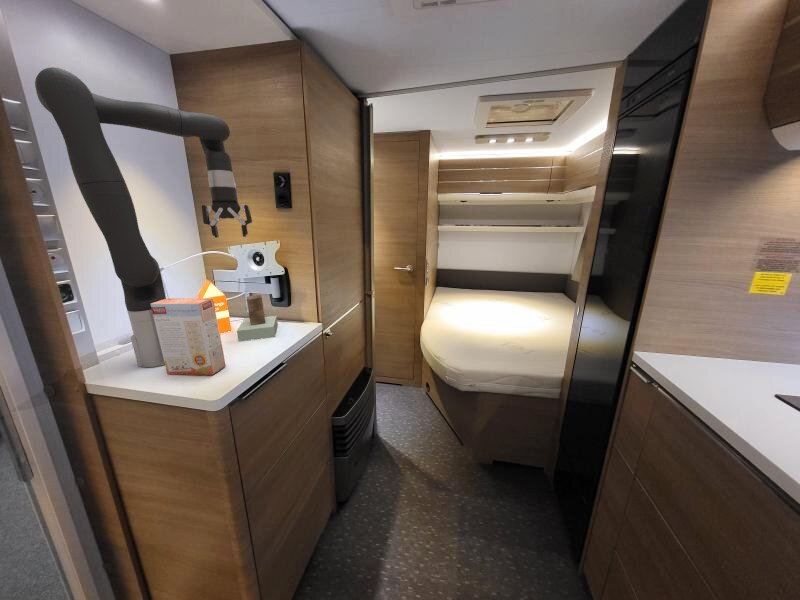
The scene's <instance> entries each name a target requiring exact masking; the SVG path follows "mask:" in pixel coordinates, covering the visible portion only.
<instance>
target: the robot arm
mask: <svg viewBox="0 0 800 600" xmlns="http://www.w3.org/2000/svg"><path fill="white" fill-rule="evenodd" d="M34 85H35V86H34V87H35V91H36V95H37V98H38V101H39V103H40V104H41V105H42V107H43V108H44V109H46V111H47V112H49V113H50V114H51V115H52V117H53V119H54V121H55V123H56V124H57V126H58V129H59V130H60V132H61V135H62V138H63V141H64V142H65V147H66V152H67V154H68V155H67V156H68V160H69V164H70V166H71V170H72V173H73V177H74V178H75V182H76V184H77V186H78V189H79V191H80V194H81V196H82V198H83V200H84V202H85V205H86V206H87V208H88V211H89V212H90V214H91V215H92V218H93V219H94V221H95V223H96V225H97V226H98V229H99V230H100V232H101V233H102V236H103V237H104V239H105V241H106V245H107V247H108V251H109V253H110V257H111V260H112V264H113V268H114V272H115V275H116V276H117V278H118V279H119V280H120V282H121V286H122V290H123V291H122V292H123V296H124V305H125V307H126V311H127V315H128V319H129V323H130V325H131V330H132V332H133V333H132V335H131V336H130V340H131V343H132V348H133V351H134V355H135V359H136V362H137V363H136V364H137V367H139V368H141V367H143V368H155V367H161V366H163V365H164V366H165V363H164V358H163V354H162V350H161V346H160V342H159V338H158V334H157V329H156V325H155V321H154V317H153V313H152V309H151V303H154V302H157V301H160V300H163V299H167V297H166V291H165V287H164V282H163V279H162V274H161V269H160V266H159V263H158V261H157V259H155V258H154V257H153V256H152V254H151V253H150V251H149V249H148V247H147V245H146V243H145V241H144V239H143V237H142V234H141V231H140V227H139V222H138V218H137V213H136V209H135V205H134V202H133V198H132V195H131V193H130V191H129V188H128V185H127V183H126V180H125V178H124V176H123V174H122V171H121V169H120V166H119V165H118V163H117V161H116V158H115V156H114V154H113V152H112V150H111V148H110V147H109V145H108V143H107V140H106V138H105V135H104V132H103V129H102V125H101V124H106V125H114V126H115V125H116V126H121V127H123V126H124V127H130V128H136V129H141V130H147V131H152V132H157V133H161V134H166V135H172V136H176V137H181V138H191V137H192V138H193V137H196V138H199V142H200V145H201V148H202V151H203V153H204V155H205V161H206V163H205V164H206V168H207V179H208V180H207V181H208V184H209V192H210V197H211V203H212V204H211V205H206V204H202V205H201V212H202V221H203V224H204V225H208V226H210V230H211V235H212V236H213V237H214V238H219V237H220V235H219V229H218V226H217V224H218V222H219V221H220V220H221V219H223V220H224V219H225V220H226V219H236V220H237V221H238V222H239V223H240V224H241V233H242V237H243V238H244V237H247V235H249V232H248V225H250V224H252V223H253V218H252V214H251V209H250V206H249V205H248V204H245V205H240V204H239V201H238V194H237V193H238V192H237V188H236V187H237V184H236V180H235V177H234V173H233V166H232V161H231V157H230V155H229V153H227V152H226V148H225V145H224V142H225V141H227V140H228V139H229V137H230V134H231V133H230V126H229V125H228V124H227V123H226V121H224V120H223V119H222V118H221V117H218V116H216V115H212V114H209V113H202V112H195V111H193V112H191V111H183V110H181V109H178V108H174V107H170V106H165V105H162V104H157V103H150V102H142V101H141V102H140V101H129V100H121V99H117V98H116V99H115V98H110V97H106V96H102V95H99V94H96V93H93V92H91V89H90V88H89V87H88V86H87V85H86V83H85V82H83V81H82V79H80V78H79V77H78V76H76V75H75V74H73V73H71V72H70V71H68V70H66V69H63V68H59V67H52V66H51V67H47V68H43V69H42V70H40V71H39V72H38V73H37V75H36V77H35V80H34ZM211 210H212V211H213V212H214V213H215V214H214V215H213V217H212V220H210V212H211ZM241 210H242V212H244V213H245V217H246V219H244V218H243V217H242V216H241V215H240V214H239V213H240V211H241Z"/></svg>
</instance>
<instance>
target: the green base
mask: <svg viewBox="0 0 800 600" xmlns="http://www.w3.org/2000/svg"><path fill="white" fill-rule="evenodd" d="M278 325H279V324H278V316H277V315H270V316H265V324H259V325H252V326H251V324H250V317H249V318H244V319H243V320H242V321H241V324H240V325H239V327H238V328H237V330H236V334H237V340H238V342H245V341H244V340H246V341H251V339H254V340H260V339H261V338H262V339H270V338H271V339H272V338H275V337H276V333H277V329H278Z"/></svg>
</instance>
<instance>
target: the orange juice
mask: <svg viewBox="0 0 800 600" xmlns="http://www.w3.org/2000/svg"><path fill="white" fill-rule="evenodd" d="M197 298H213V301H214V306H215V312H216V317H217V322H218V328H219V333H220V335H221V333H222V334H225V333H224V332H226V333H229V332H228V331H230V332H232V331H231V330H232V325H231V319H230V314H229V313H230V312H229V309H228V303H227V302H228V301H227V297H226V295H225V293H223V292H222V291H221V290H220V289H219V288H218V287H217V286H215V285H214V284H213V283H212V282H211V281H210V280H208V279H206V280H205V282H204V283H203V285H202V287H201V288H200V289H199V291H198V294H197Z"/></svg>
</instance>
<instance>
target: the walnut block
mask: <svg viewBox="0 0 800 600" xmlns="http://www.w3.org/2000/svg"><path fill="white" fill-rule="evenodd" d="M246 303H247V310H248V316H249V318H250V324H251V326H252V325H259V324H265V317H266V316H265V311H264V303H263V298H262V294H259V295H258V294H257V295H256V294H255V295H247V296H246Z"/></svg>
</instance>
